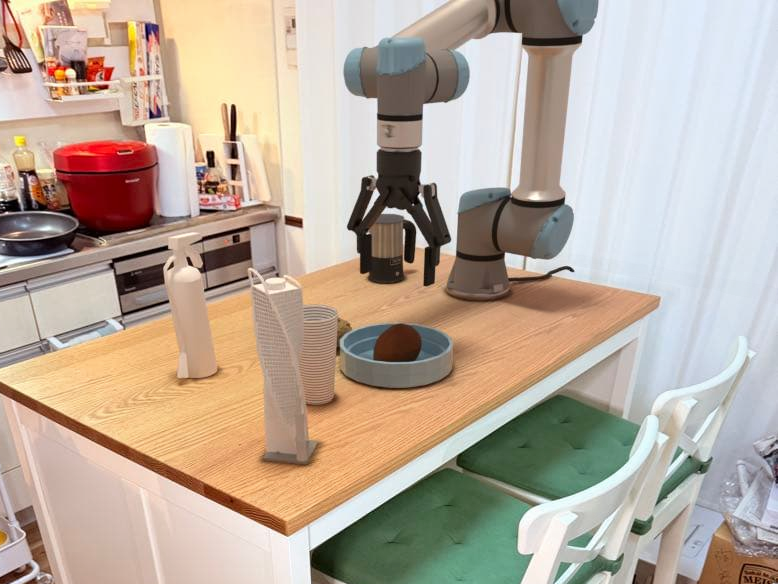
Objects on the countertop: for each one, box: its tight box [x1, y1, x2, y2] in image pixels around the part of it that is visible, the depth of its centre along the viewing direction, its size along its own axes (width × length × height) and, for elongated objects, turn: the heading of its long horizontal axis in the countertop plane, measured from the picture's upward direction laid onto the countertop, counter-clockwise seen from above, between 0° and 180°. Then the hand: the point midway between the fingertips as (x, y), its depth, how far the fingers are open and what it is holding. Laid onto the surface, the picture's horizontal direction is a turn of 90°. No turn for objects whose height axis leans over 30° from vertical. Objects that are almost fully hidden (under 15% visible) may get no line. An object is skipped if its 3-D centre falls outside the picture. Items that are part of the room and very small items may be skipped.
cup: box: [299, 304, 339, 406], centre depth 133 cm, size 8×8×16 cm
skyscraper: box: [247, 267, 319, 466], centre depth 114 cm, size 8×8×28 cm
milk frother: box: [367, 213, 417, 284], centre depth 196 cm, size 14×16×15 cm
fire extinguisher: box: [162, 231, 218, 379], centre depth 140 cm, size 7×12×25 cm, turn 153°
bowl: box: [339, 322, 455, 389], centre depth 148 cm, size 22×22×5 cm
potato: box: [373, 322, 422, 362], centre depth 147 cm, size 8×12×8 cm, turn 140°
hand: (396, 278), depth 140 cm, fingers open, 13 cm apart
